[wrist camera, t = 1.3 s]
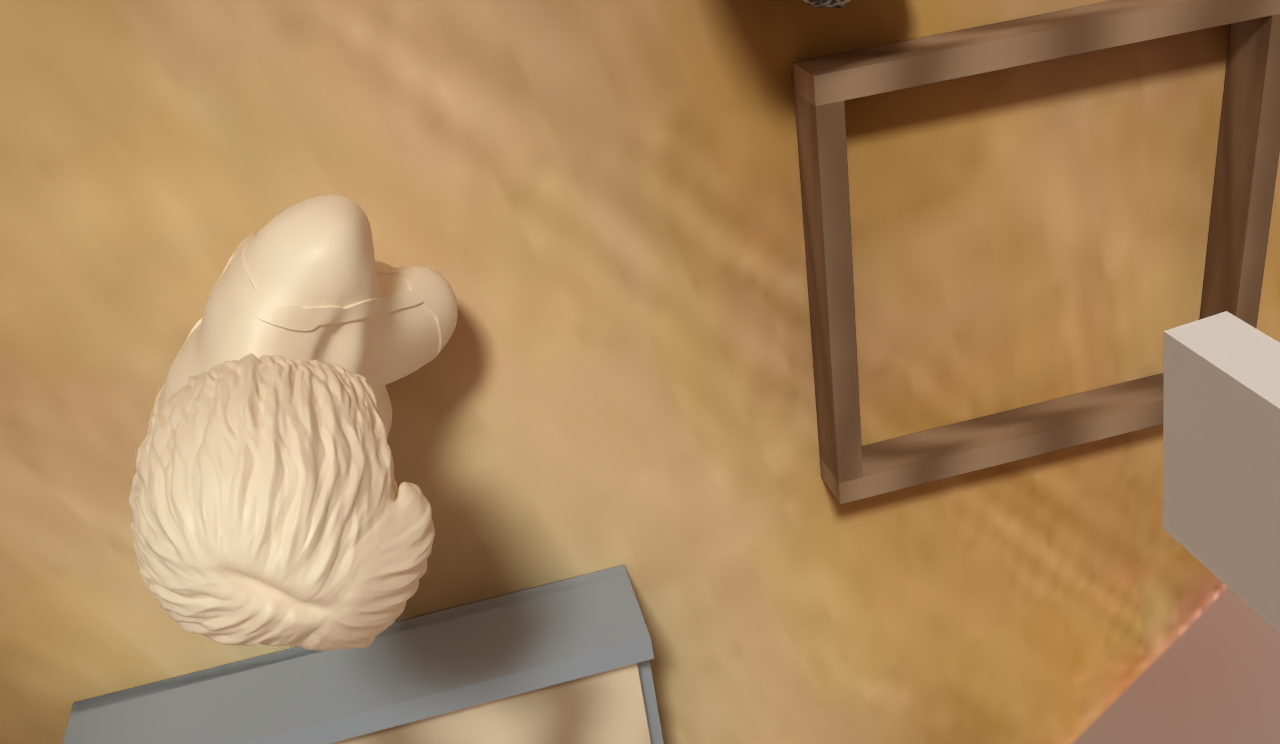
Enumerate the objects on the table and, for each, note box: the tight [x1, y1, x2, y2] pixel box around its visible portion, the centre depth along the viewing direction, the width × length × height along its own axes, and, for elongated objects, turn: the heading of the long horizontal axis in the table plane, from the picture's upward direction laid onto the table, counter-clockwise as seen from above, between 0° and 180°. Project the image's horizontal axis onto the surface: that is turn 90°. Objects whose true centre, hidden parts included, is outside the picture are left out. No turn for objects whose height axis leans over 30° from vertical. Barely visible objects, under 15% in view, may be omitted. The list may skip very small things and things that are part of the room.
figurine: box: [129, 195, 458, 651], centre depth 39 cm, size 14×9×20 cm
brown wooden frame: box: [792, 0, 1280, 504], centre depth 53 cm, size 21×20×2 cm
